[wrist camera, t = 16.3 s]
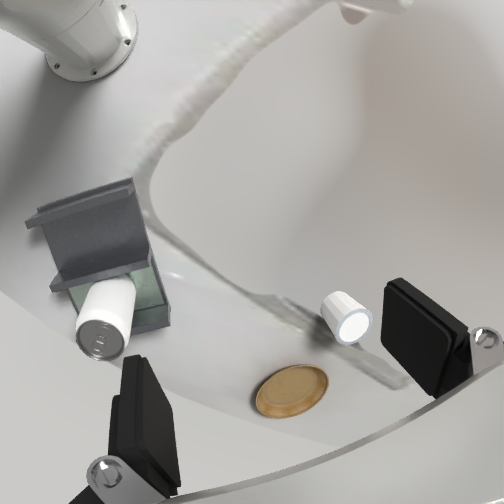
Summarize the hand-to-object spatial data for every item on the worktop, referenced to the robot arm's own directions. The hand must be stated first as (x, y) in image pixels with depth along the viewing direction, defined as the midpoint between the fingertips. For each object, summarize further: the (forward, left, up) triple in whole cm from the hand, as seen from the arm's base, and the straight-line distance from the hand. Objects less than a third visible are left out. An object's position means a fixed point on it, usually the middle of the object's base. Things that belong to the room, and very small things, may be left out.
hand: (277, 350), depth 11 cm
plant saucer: (+40, +8, -33) cm, 52 cm away
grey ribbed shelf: (+6, -15, -32) cm, 36 cm away
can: (+10, -15, -31) cm, 36 cm away
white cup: (+24, +18, -32) cm, 44 cm away
